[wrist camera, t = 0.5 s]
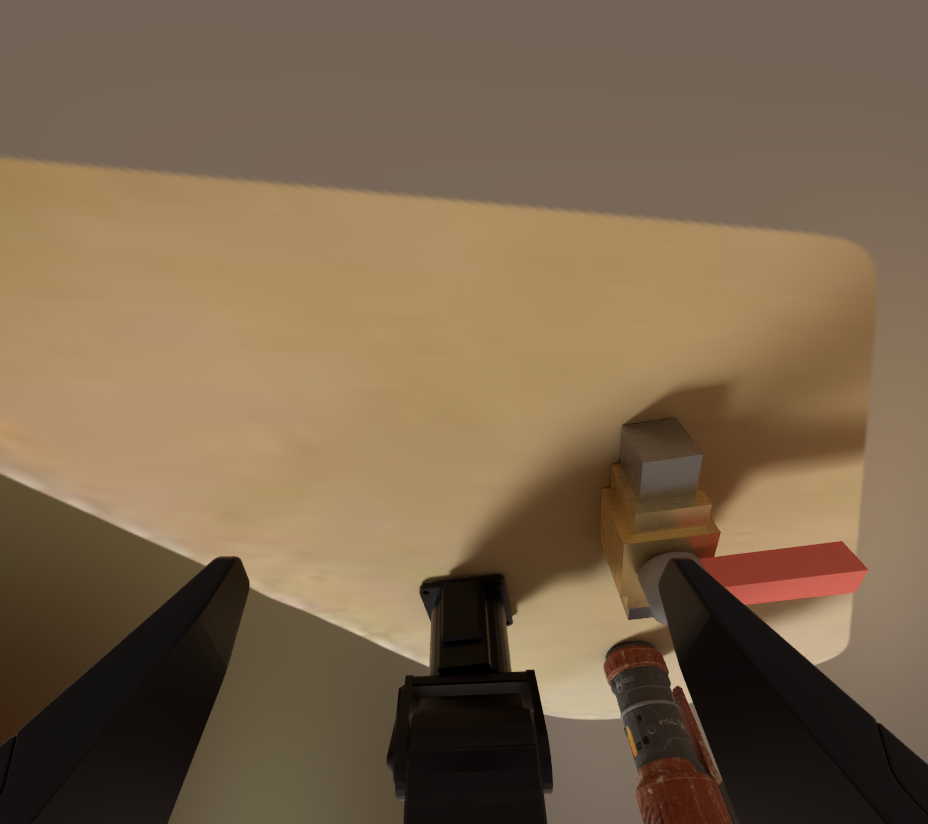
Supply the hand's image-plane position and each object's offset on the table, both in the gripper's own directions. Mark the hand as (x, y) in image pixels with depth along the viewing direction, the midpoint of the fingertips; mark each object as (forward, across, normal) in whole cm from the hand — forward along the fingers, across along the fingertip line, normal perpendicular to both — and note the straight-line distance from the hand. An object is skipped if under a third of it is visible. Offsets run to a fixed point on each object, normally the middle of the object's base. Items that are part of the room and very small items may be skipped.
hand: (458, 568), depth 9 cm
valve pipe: (+14, -13, +13) cm, 23 cm away
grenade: (+15, -18, +32) cm, 40 cm away
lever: (+9, -16, +12) cm, 22 cm away
